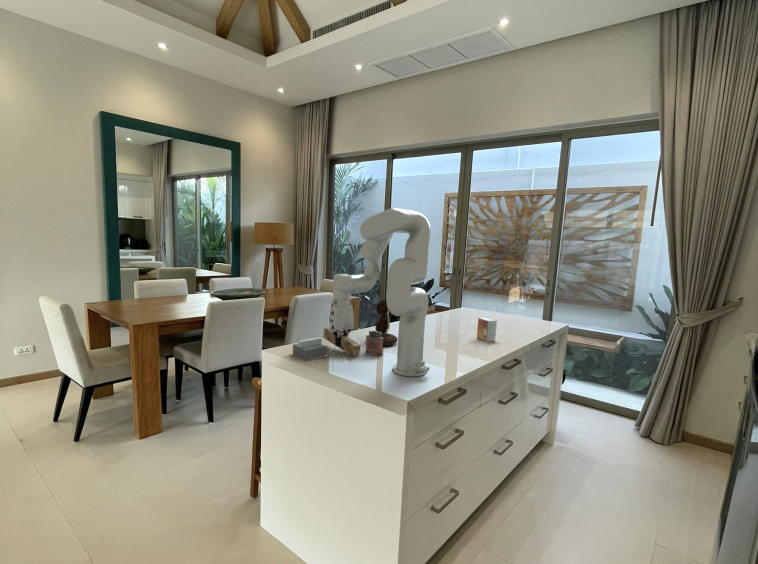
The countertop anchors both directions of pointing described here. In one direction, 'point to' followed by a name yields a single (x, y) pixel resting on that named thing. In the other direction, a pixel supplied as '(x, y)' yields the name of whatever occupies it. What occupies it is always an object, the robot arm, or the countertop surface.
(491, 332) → the small box
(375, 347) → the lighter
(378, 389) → the countertop surface
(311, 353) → the ridge stand
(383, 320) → the brown rounded piece
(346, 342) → the batten
